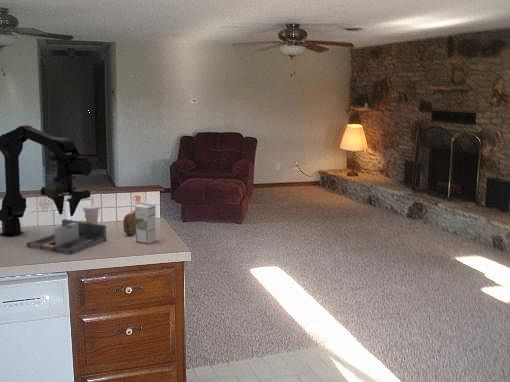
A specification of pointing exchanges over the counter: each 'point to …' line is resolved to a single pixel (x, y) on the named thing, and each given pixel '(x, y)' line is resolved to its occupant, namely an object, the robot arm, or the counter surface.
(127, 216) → the tin
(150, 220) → the syrup box
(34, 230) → the counter surface
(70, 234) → the panel
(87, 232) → the rack
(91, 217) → the smoothie
